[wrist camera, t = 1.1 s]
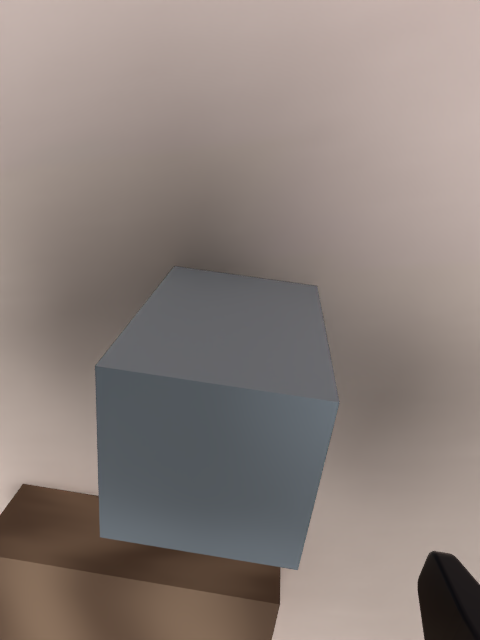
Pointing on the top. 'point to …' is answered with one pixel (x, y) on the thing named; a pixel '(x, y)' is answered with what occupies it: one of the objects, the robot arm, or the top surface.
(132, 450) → the slate block
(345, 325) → the top surface
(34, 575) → the walnut block
